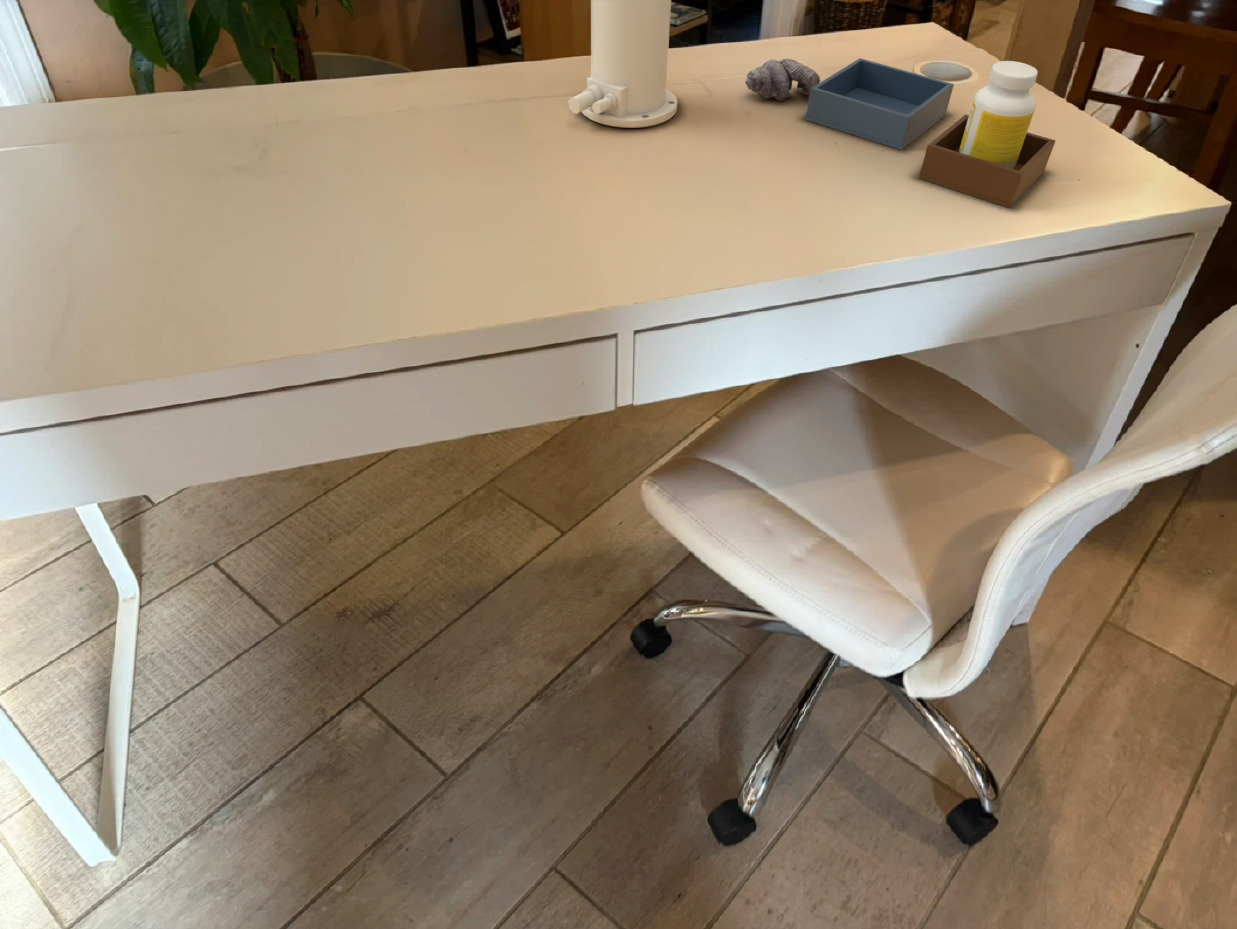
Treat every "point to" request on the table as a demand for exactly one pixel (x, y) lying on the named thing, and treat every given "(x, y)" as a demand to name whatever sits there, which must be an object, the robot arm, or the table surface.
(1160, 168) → the table surface
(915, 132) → the blue bin
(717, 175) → the table surface
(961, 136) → the brown bin
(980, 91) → the pill bottle
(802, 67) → the grey lumpy piece
